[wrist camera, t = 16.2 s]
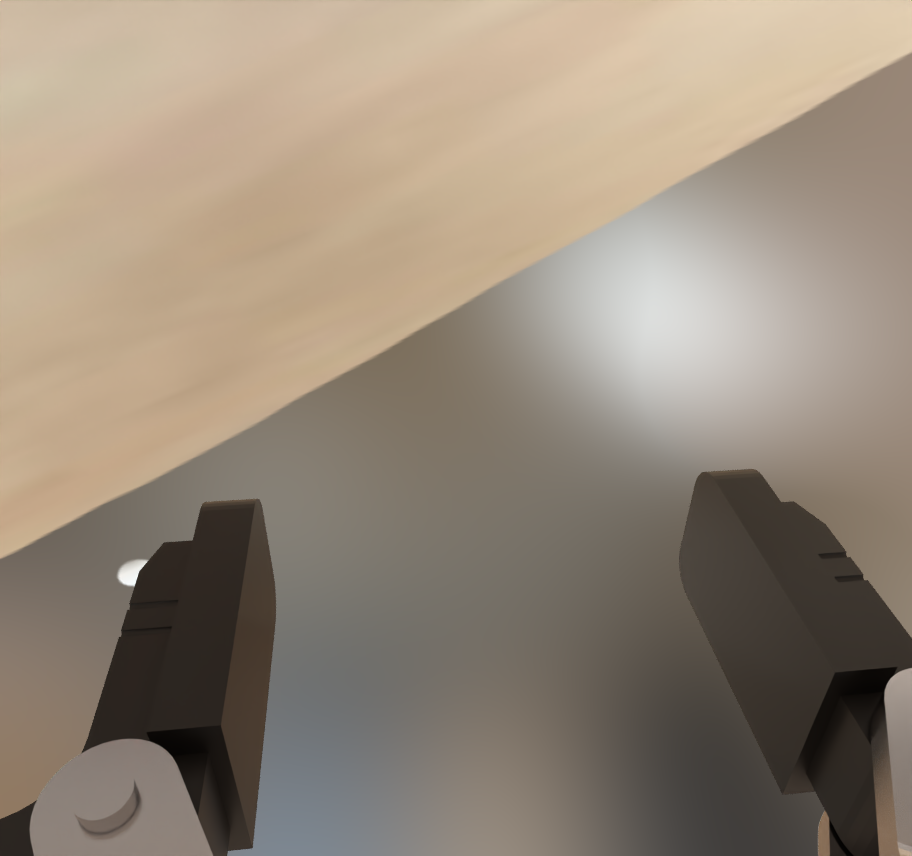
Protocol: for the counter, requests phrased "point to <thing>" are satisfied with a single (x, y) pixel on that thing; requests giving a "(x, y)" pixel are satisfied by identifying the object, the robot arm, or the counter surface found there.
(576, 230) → the counter surface
